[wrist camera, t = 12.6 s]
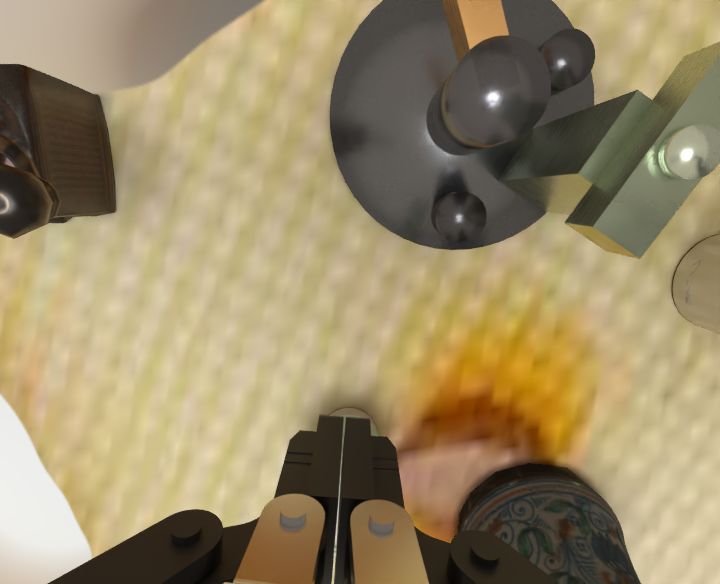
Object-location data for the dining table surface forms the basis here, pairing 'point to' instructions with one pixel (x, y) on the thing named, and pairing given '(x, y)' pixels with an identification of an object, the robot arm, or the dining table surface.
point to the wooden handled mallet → (486, 82)
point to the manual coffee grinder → (50, 152)
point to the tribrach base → (524, 154)
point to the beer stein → (552, 524)
